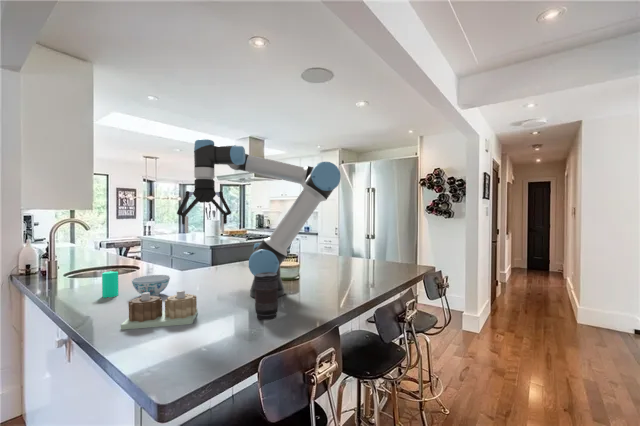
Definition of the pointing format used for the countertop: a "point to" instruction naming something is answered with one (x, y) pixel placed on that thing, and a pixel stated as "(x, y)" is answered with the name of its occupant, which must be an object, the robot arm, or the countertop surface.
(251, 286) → the robot arm
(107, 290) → the candle
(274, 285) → the camera lens
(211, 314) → the countertop surface
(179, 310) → the maple gear
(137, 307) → the walnut gear
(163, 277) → the chinaware
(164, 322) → the gear board
